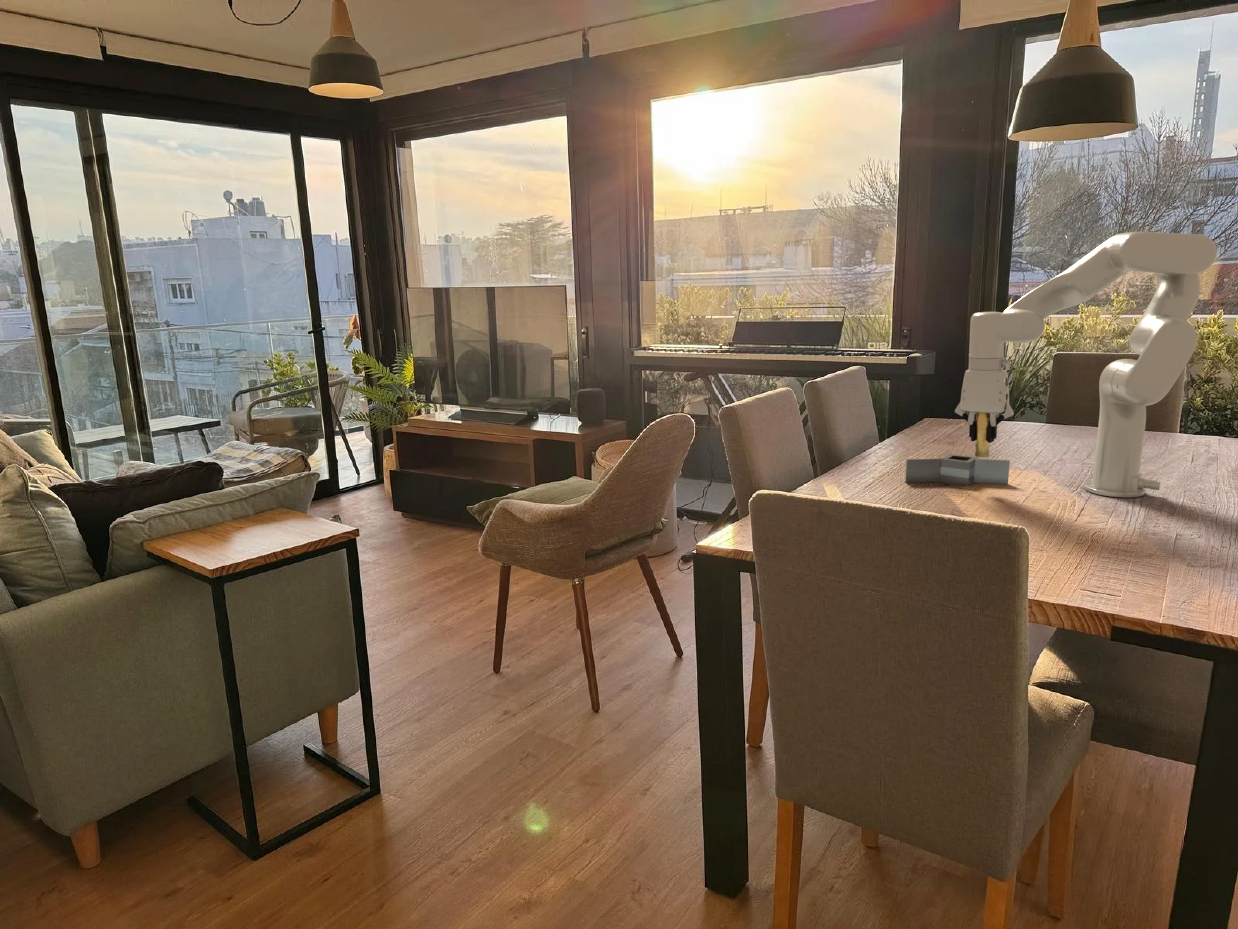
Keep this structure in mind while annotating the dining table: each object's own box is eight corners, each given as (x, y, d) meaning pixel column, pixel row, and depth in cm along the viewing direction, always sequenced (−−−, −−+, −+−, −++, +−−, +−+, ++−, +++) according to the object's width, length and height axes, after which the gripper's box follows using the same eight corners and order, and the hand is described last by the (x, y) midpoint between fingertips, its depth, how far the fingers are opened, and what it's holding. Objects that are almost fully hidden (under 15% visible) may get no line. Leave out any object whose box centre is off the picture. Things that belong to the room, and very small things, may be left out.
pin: (990, 455, 204) (992, 406, 201) (986, 457, 201) (989, 408, 199) (977, 453, 206) (979, 405, 203) (973, 456, 203) (975, 407, 200)
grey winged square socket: (1008, 483, 210) (1010, 460, 209) (993, 494, 200) (995, 470, 199) (922, 472, 223) (923, 450, 222) (904, 482, 213) (905, 459, 212)
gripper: (1027, 363, 196) (1023, 441, 200) (955, 362, 206) (952, 435, 210) (1018, 367, 191) (1014, 446, 195) (945, 365, 201) (942, 441, 205)
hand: (982, 440), depth 203 cm, fingers closed on pin, 3 cm apart
